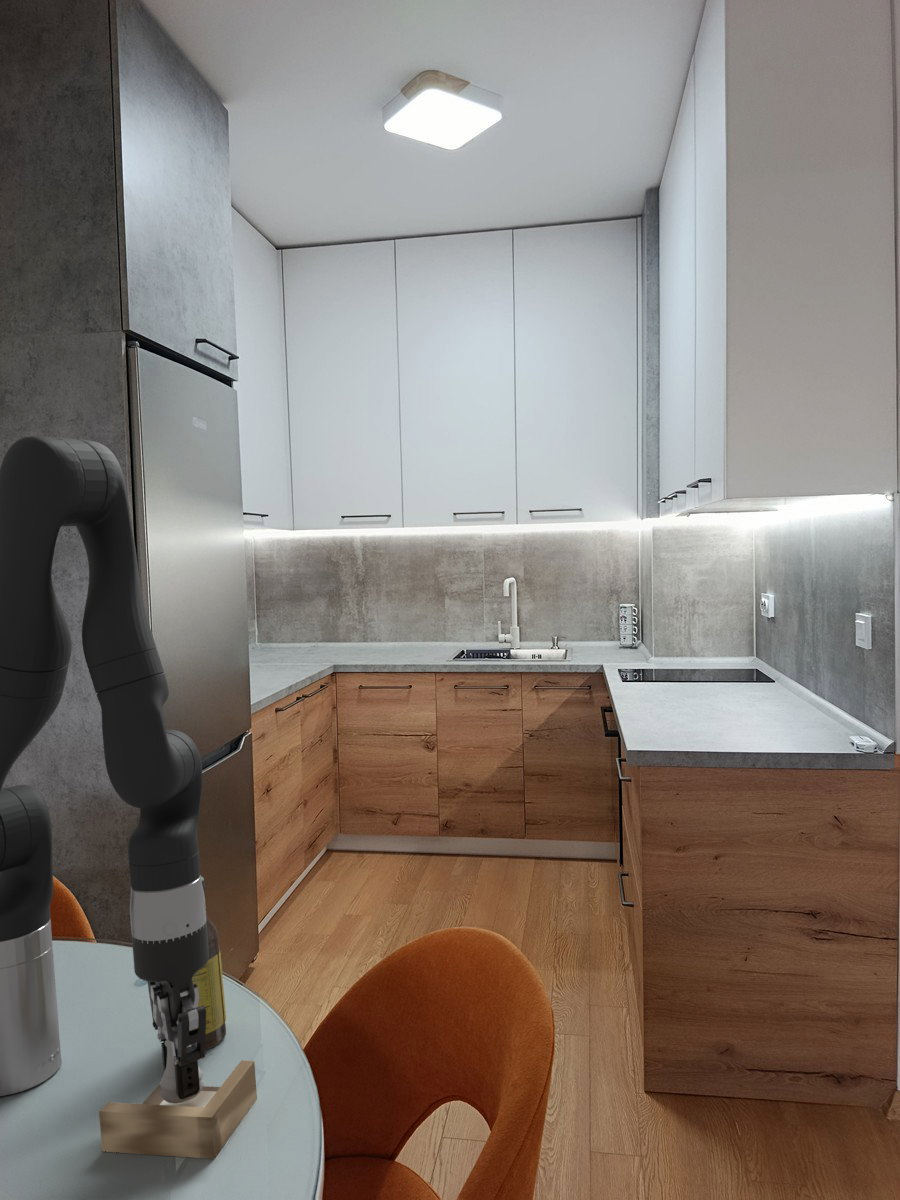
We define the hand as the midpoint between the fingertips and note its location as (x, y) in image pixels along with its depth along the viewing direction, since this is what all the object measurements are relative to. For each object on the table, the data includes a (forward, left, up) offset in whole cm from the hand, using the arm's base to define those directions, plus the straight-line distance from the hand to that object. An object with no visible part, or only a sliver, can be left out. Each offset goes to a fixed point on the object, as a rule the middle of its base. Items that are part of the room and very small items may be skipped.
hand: (181, 1083), depth 90 cm
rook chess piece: (0, 0, -1) cm, 1 cm away
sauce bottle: (-5, +14, -3) cm, 15 cm away
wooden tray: (+1, -1, -3) cm, 3 cm away
